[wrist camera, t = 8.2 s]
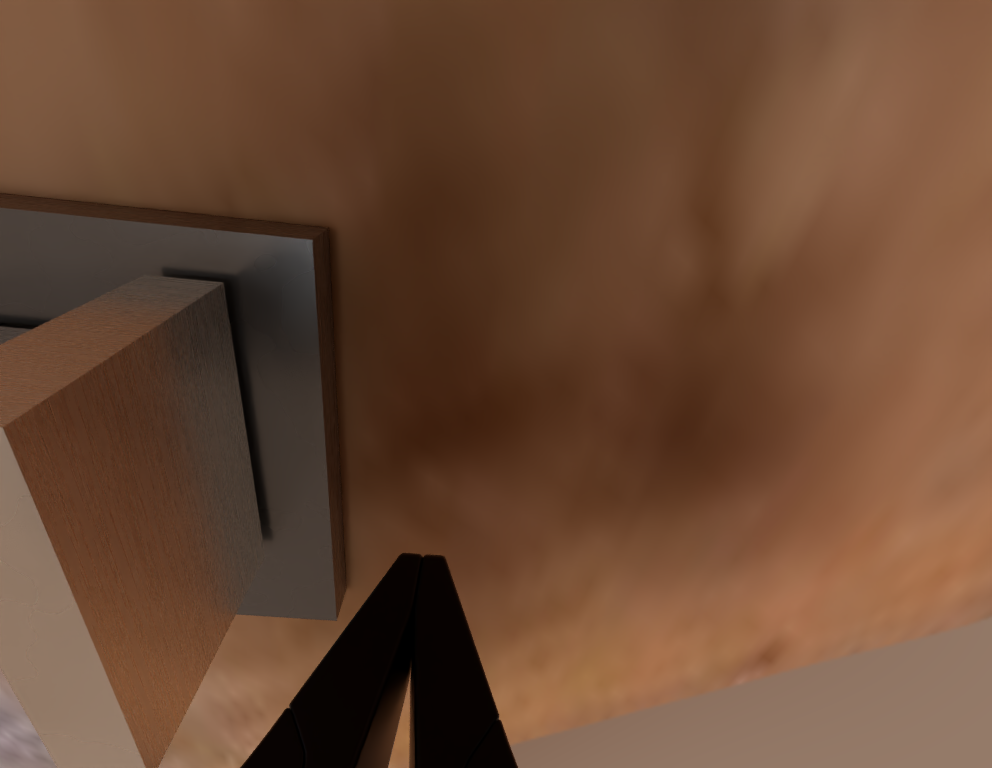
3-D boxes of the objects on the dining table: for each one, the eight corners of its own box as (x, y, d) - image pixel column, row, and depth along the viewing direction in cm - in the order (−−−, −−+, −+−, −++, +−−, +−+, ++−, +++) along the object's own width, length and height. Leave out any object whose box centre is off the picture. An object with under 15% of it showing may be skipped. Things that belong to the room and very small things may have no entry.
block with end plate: (223, 282, 11) (2, 426, 6) (271, 601, 15) (170, 827, 11) (-164, 244, 10) (-745, 367, 5) (7, 584, 15) (-224, 812, 10)
